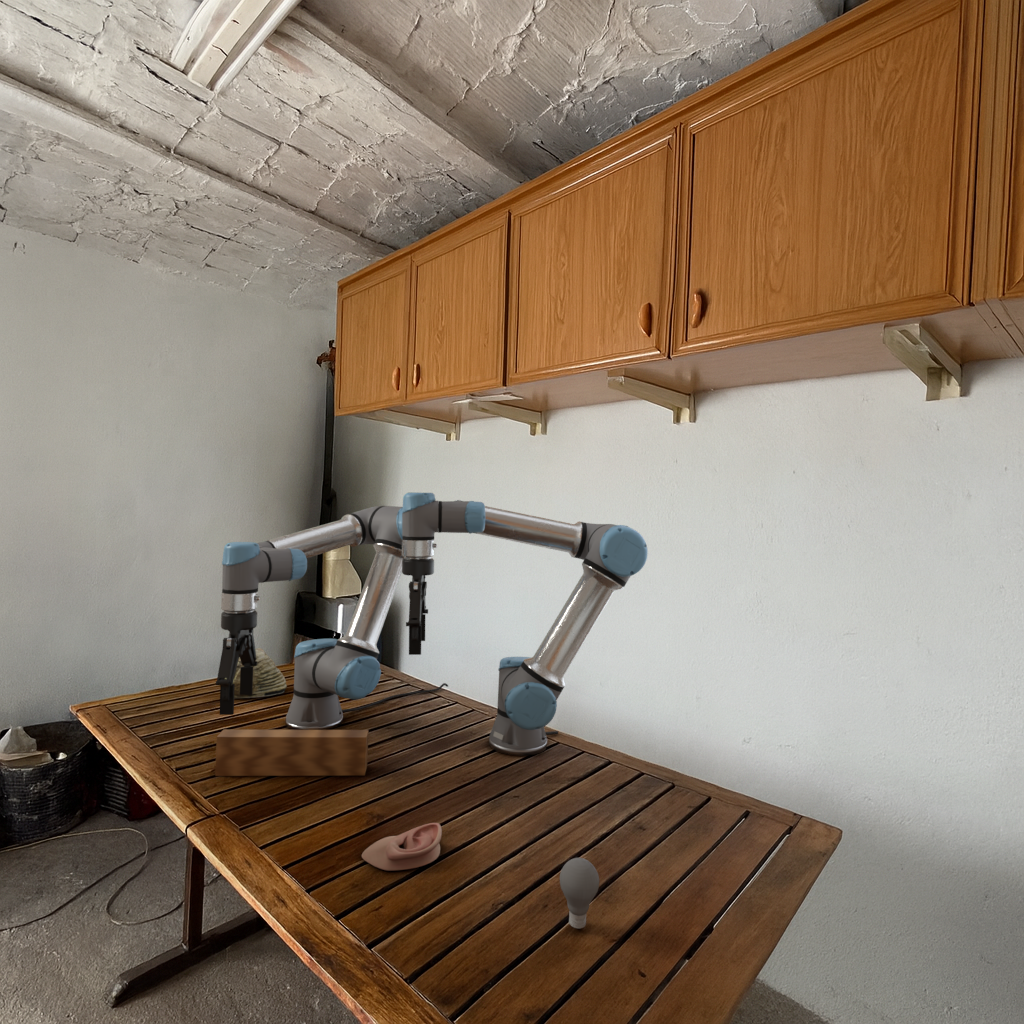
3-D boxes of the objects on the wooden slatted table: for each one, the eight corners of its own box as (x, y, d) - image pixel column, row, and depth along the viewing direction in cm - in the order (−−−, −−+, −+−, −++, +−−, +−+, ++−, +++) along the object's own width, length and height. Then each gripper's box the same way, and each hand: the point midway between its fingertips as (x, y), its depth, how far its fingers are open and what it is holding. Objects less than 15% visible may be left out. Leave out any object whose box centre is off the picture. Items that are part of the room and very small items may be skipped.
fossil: (218, 695, 195) (220, 647, 195) (278, 685, 208) (279, 640, 207) (228, 703, 189) (230, 653, 188) (289, 692, 201) (290, 645, 201)
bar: (215, 776, 141) (216, 736, 141) (222, 767, 146) (223, 729, 146) (364, 775, 145) (366, 737, 145) (367, 766, 149) (368, 729, 149)
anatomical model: (354, 842, 109) (381, 811, 120) (353, 865, 109) (380, 831, 121) (427, 854, 107) (448, 821, 118) (426, 877, 107) (447, 842, 118)
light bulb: (554, 912, 99) (557, 849, 99) (592, 912, 99) (595, 849, 99) (560, 939, 93) (564, 872, 93) (601, 939, 94) (604, 872, 93)
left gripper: (239, 622, 131) (236, 723, 132) (271, 601, 156) (269, 687, 156) (201, 621, 130) (198, 723, 131) (239, 601, 155) (237, 687, 156)
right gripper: (431, 563, 137) (430, 660, 138) (436, 553, 162) (436, 635, 163) (396, 563, 137) (395, 660, 137) (407, 552, 162) (406, 635, 162)
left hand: (236, 704), depth 144 cm, fingers open, 13 cm apart
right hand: (417, 647), depth 150 cm, fingers open, 13 cm apart
